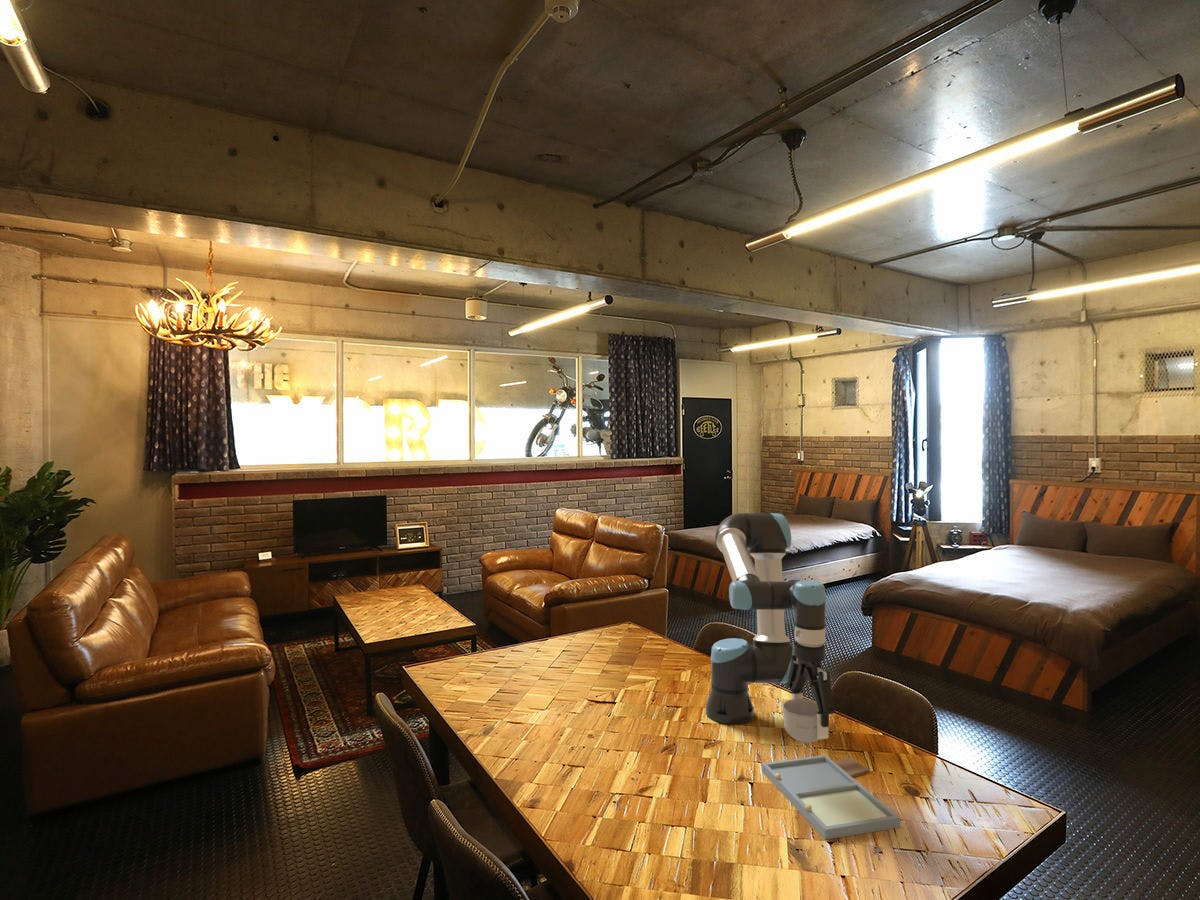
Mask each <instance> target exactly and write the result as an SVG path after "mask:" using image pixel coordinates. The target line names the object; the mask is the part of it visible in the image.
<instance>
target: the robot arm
mask: <svg viewBox="0 0 1200 900" xmlns="http://www.w3.org/2000/svg"><path fill="white" fill-rule="evenodd" d="M714 538H715V539H714V540H715V544H716V546H717V548H718V550H719V551H720V552H721V553H722V554H723V558H724V561H725V564H726V566H727V569H728V570H727V571H728V572H729V575H730V578H731V582H730V584H729V587H728V593H729V594H728V599H729V603H730V606H731V608H732V609H735V610H743V611H748V610H749V611H750V610H751V611H752V610H755V611H756V620H757V621H756V623H757V633H756V635H754V637H753V638H752V642H753V644H749V643H748V641H747V640H746V639H743V638H737V637H736V638H734V637H733V638H732V637H731V638H724V639H720V640H718V641H716V642H714V643H713V645H712V646H711V652H710V653H711V655H710V667H711V669H710V674H711V676H710V677H711V678H710V679H711V680H710V683H711V685H710V687H711V688H710V692H709V694H708V697H707V700H706V704H705V715H706V716H707V717H708V718H709V717H710V720H713V721H715V722H718V723H721V724H726V725H727V724H728V725H741V724H747V723H749V722H751V721H752V720H753V719H754V717H755V716H754V715H755V713H754V712H755V711H754V706H753V703H752V700H751V696H750V693H749V684H765V683H766V684H777V685H779V684H786V686H787V688H788V689H790V693H791V698H792V699H804V694H803V692H804V690H803V688H804V686H805V683H806V681H808V684H809V685H810V686H811V688H812V691H813V695H814V698H815V701H816V702H817V705H818V709H819V712H817V739H819V740H826V739H829V727H830V715H833V714H834V715H835V713H836V709H835V703H834V699H833V693H832V687H831V683H830V682H831V679H830V671H829V670H823V667H822V664H821V663H822V662H823V661H824V660H825V659H826V645H825V643H826V599H827V596H826V589H825V588H826V587H825V586H824V584H823V583H821V582H819V581H815V580H800V579H797V578H788V579H786V580H784V581H783V566H782V565H783V563H782V559H783V558H784V557H785V555H786V554H787V549H790V548H791V546H792V532H791V527H790V524H789V522H788V519H787V517H785V515H784V514H781V513H776V512H775V513H773V512H754V513H753V512H750V513H748V512H747V513H746V512H745V513H744V512H738V513H734V514H731V515H729V516H728V517H725V519H723V520H722V521H721V522H720V524H718V527H717V528H716V530H715V534H714ZM748 549H749V550H748ZM751 557H752V558H753V560H754V563H753V560H752V558H751ZM785 610H788V611H792V610H793V611H794V612H793V613H794V617H793V618H794V631H793V633H794V640H795V641H794V644H791V639H790V638H789V637H788V636H787V635H786V627H785V626H786V625H785ZM792 699H791V700H792ZM829 714H830V715H829Z"/></svg>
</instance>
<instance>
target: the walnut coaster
mask: <svg viewBox="0 0 1200 900" xmlns="http://www.w3.org/2000/svg"><path fill="white" fill-rule="evenodd" d="M833 762H835V763H836V764H837V765H838V766H839V767H841V768H842V769H843V770H844V771H845V772H846V773H848V774H849V775H850V776H851V777H852V778H854V777H857V776H860V775H863V774H864V775H865V774H867V773H870V769H869V768H867V767H866V766H864V765H863V764H860V763H859V762H858V761H855V760H854V759H852V758H851V757H849V756H848V757H845V758H841V759H838V760H834V761H833Z"/></svg>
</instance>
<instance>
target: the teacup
mask: <svg viewBox="0 0 1200 900" xmlns="http://www.w3.org/2000/svg"><path fill="white" fill-rule="evenodd" d="M781 706H782V714H783V727H784V729H785V731H786V732H787V734H788V735H789V736H791V737H792V738H793V739H794V740H796V741H797V742H801V743H807V744H808V743H809V744H810V743H815V742H818V741H819V740H820V739H817V712H819V709H818V705H817V702H816V700H812V699H808V698H807V699H806V698H805V699H804V698H803V699H789V700H786V701H784V702H783V703H782V705H781ZM830 715H831V714H829V716H830Z"/></svg>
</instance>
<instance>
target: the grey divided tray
mask: <svg viewBox="0 0 1200 900" xmlns="http://www.w3.org/2000/svg"><path fill="white" fill-rule="evenodd" d="M761 772H762V773H763V775H764V776H765V777H767V779H768V780H769V781H770V782H772V783H771V784H773V785H774V786H775V788H777V789H778V791H780V793H781V794H782V795H783V796H784V798H786V799H787V800H788V801H789V802H790V803H791V804H792V806H793V807H794V808H795V809H796V810H797V811H798V812H799V814H801V815H802V817H803V818H804V819H805V820H806V821H808V823H809V824H810V825H811V826H812V827H813V828H814V830H816V832H817V833H818V834H819V835H820V836H821V837H822V838H823V839H824V840H831V839H837V838H844V837H851V836H855V835H862V834H867V833H874V832H881V831H887V830H892V829H893V830H894V829H898V828H901V817H900V816H899V815H897V814H896V813H895V812H894V811H893V810H892V809H890V808H889V807H888V806H887V805H885V803H883V802H882V801H880V799H878V798H877V796H875V795H874V794H872V792H870V791H869V790H868V789H867V788H865V786H863V785H862V784H861V783H860V782H858V780H856V779H855V778H854V777H851V776H850V775H849V774H848V773H846V772H845V771H844V770H843V769H842V768H841V767H839V766H838V765H837V764H836V763H835V762H834V761H833V759H831V758H830V757H829V756H827V754H822V755H820V754H819V755H815V756H806V757H799V758H791V759H785V760H784V759H783V760H774V761H767V762H761Z"/></svg>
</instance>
